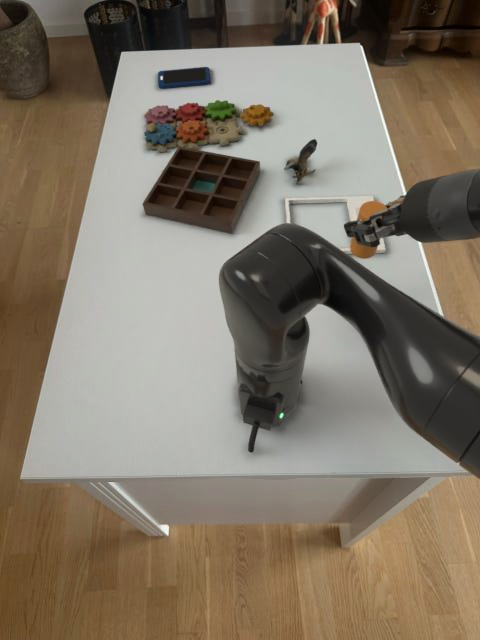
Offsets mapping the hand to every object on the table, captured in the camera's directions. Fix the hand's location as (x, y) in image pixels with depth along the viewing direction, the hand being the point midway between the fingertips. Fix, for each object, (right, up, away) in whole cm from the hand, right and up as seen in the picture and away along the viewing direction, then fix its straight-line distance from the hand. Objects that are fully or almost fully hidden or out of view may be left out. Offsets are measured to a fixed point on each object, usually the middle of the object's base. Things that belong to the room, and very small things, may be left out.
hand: (359, 222), depth 66 cm
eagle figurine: (-5, +18, +31) cm, 36 cm away
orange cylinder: (+1, -3, +3) cm, 5 cm away
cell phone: (-33, +50, +52) cm, 79 cm away
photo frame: (0, +4, +22) cm, 22 cm away
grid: (-26, +13, +28) cm, 40 cm away
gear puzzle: (-25, +32, +41) cm, 57 cm away
